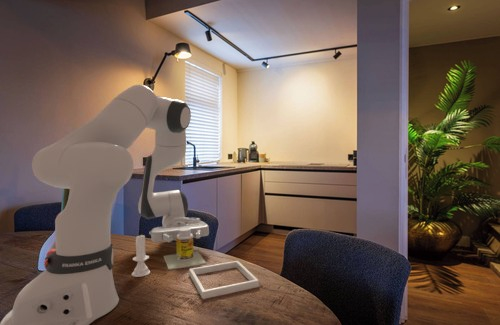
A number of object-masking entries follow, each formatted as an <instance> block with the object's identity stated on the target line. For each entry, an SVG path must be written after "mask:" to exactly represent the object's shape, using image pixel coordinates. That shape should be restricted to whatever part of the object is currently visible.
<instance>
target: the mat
mask: <svg viewBox="0 0 500 325" xmlns="http://www.w3.org/2000/svg"><path fill="white" fill-rule="evenodd" d="M163 259H164V262H165V264H166V266H167V270H168V271H171V270H177V269H182V268H188V267H189V268H190V267H195V266H201V265H206V264H207V262H206V260H205V259H204V258H203V256H202V255H201V254H200V252H199V250H196V251H195V250H193V258H192V259H191V260H188V261H179V260H177V253H173V254H167V255H163Z"/></svg>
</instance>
